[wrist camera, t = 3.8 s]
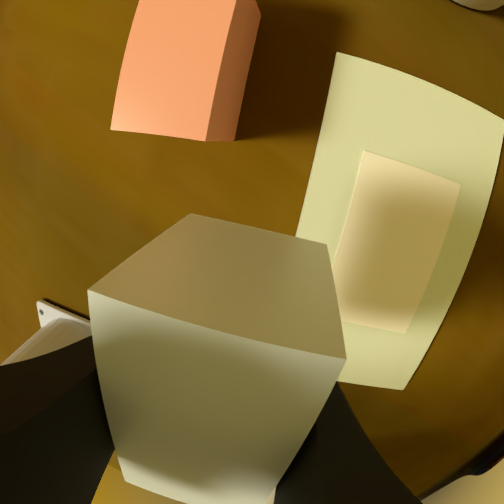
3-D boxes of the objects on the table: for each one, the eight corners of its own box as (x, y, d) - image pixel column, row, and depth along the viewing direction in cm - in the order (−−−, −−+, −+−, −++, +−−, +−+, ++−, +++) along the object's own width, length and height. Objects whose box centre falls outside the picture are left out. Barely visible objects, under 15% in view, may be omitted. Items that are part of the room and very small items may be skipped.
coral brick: (234, 140, 15) (205, 141, 10) (162, 129, 15) (110, 129, 11) (261, 15, 12) (244, -29, 8) (188, 11, 13) (148, -26, 8)
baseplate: (401, 385, 18) (403, 391, 18) (261, 360, 19) (260, 366, 19) (500, 121, 12) (506, 120, 11) (335, 54, 13) (337, 51, 12)
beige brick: (272, 408, 11) (253, 518, 7) (175, 382, 12) (125, 481, 7) (326, 244, 9) (346, 359, 4) (190, 213, 9) (87, 289, 4)
